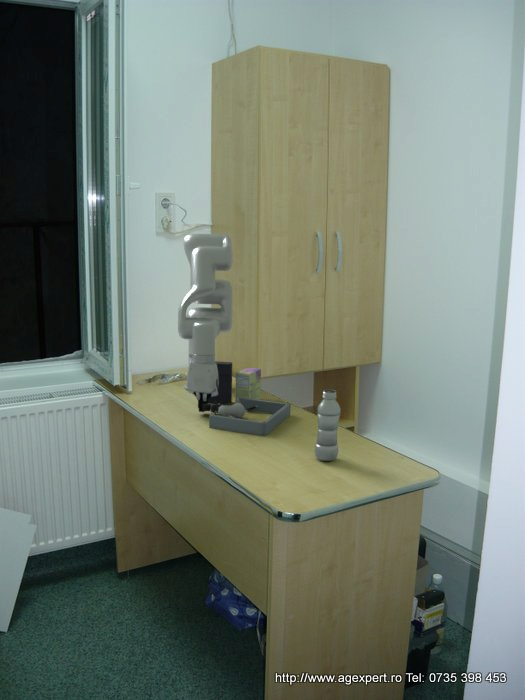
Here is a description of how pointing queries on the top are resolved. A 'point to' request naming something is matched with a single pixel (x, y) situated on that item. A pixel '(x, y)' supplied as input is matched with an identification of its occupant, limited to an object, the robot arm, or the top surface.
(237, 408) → the clip-on lamp
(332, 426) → the plastic bottle
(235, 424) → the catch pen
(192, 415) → the top surface
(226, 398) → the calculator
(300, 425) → the top surface
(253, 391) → the box
